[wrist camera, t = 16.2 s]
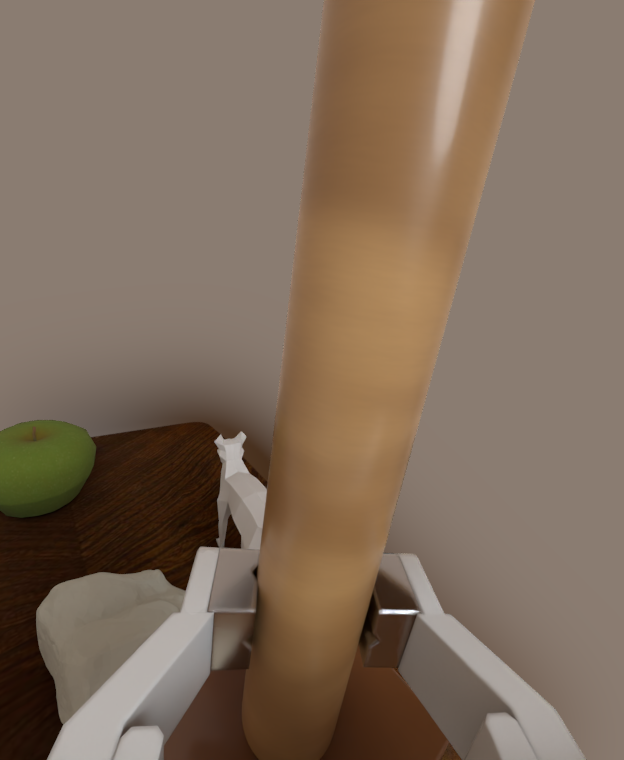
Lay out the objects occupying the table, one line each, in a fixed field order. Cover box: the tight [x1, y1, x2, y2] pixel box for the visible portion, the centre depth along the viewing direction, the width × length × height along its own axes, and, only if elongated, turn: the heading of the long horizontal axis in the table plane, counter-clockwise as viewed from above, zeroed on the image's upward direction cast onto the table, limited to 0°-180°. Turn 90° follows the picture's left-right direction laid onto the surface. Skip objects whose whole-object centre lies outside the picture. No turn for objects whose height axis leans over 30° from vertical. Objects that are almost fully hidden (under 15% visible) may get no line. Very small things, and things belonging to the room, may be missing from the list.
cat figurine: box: [215, 431, 267, 550], centre depth 30 cm, size 4×20×14 cm, turn 32°
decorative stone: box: [36, 569, 186, 725], centre depth 23 cm, size 11×9×10 cm
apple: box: [0, 420, 96, 518], centre depth 36 cm, size 11×10×10 cm
